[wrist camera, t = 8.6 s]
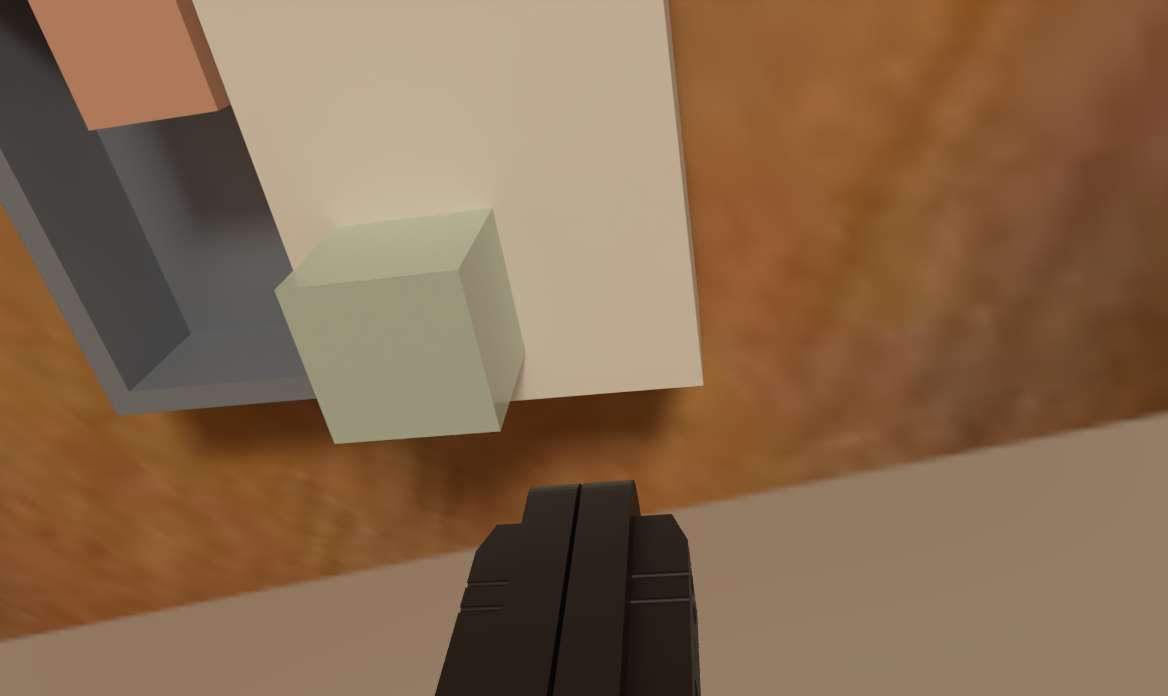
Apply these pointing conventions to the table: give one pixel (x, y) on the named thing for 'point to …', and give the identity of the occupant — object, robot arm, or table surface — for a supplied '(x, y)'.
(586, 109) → the cream rectangular block
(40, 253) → the box
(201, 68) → the orange cube
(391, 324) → the sage green cube
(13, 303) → the table surface
